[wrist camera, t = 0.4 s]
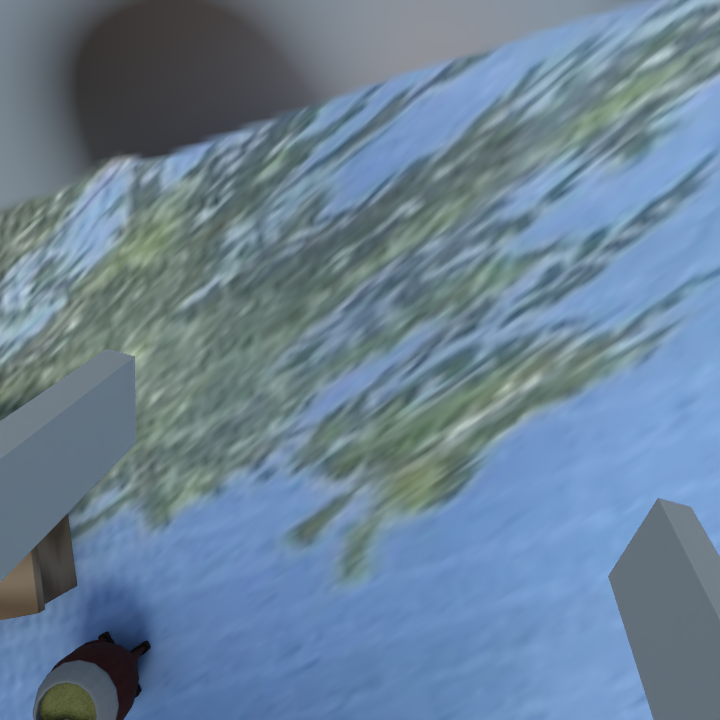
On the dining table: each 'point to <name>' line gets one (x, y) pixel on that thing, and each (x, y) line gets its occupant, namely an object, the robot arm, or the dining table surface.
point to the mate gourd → (91, 683)
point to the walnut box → (40, 575)
